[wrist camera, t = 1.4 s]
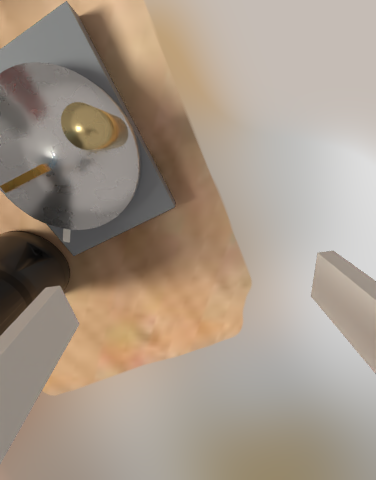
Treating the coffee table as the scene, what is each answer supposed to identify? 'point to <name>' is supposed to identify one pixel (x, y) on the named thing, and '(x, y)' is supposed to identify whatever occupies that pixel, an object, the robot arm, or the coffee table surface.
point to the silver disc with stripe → (64, 147)
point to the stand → (91, 67)
